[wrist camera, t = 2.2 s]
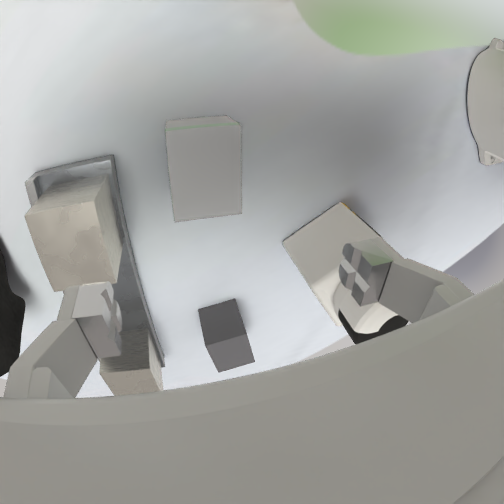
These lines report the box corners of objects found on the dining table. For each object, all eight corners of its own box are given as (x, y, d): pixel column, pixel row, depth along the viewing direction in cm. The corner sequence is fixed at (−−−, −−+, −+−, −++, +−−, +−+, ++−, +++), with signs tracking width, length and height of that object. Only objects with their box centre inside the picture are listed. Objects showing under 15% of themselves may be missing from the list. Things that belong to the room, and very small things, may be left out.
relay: (234, 298, 31) (246, 333, 27) (243, 327, 34) (255, 361, 30) (198, 309, 30) (205, 345, 26) (210, 337, 33) (218, 372, 29)
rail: (113, 154, 20) (95, 183, 15) (164, 357, 33) (169, 403, 28) (35, 172, 18) (0, 206, 13) (110, 363, 32) (109, 408, 26)
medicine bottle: (361, 246, 32) (427, 319, 22) (309, 283, 32) (362, 368, 23) (340, 199, 27) (422, 273, 18) (280, 241, 28) (339, 334, 19)
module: (226, 114, 21) (241, 124, 17) (227, 187, 24) (242, 214, 20) (165, 120, 20) (164, 131, 16) (172, 194, 23) (174, 222, 19)
